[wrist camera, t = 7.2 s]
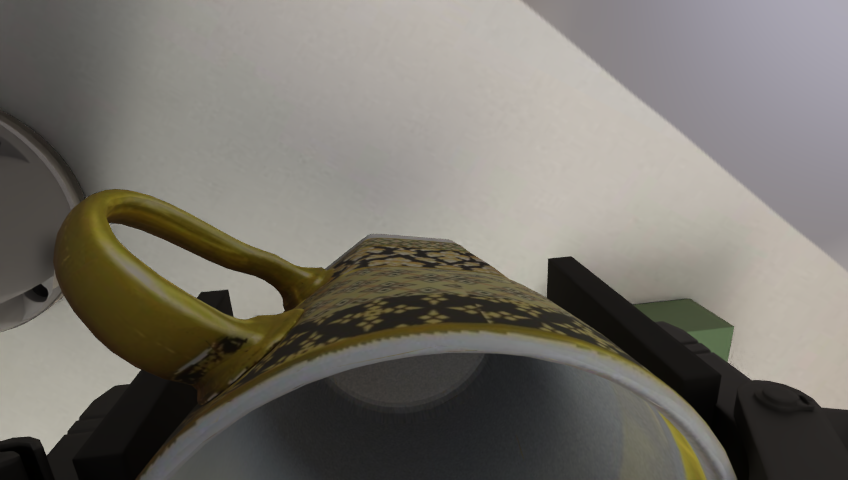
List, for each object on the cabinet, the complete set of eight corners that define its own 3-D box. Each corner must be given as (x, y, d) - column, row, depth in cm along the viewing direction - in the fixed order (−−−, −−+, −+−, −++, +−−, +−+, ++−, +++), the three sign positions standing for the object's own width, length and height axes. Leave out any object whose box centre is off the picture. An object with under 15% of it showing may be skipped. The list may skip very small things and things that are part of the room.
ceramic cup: (589, 331, 18) (843, 612, 8) (383, 480, 19) (395, 882, 9) (362, 31, 14) (340, -97, 4) (118, 243, 15) (-333, 517, 5)
